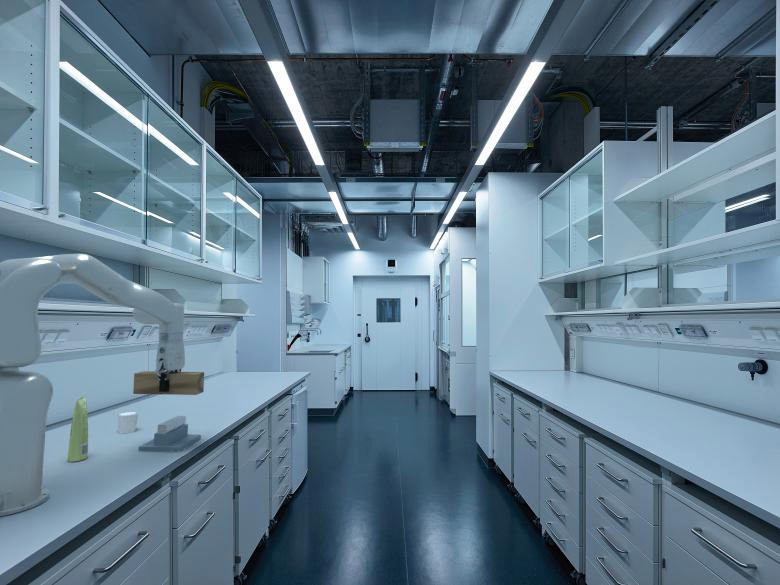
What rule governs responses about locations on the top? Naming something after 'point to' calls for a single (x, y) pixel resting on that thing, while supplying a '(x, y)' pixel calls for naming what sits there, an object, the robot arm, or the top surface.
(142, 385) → the walnut bar
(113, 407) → the top surface
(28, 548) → the top surface
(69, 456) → the tube
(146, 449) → the stand
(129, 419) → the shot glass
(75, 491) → the top surface
